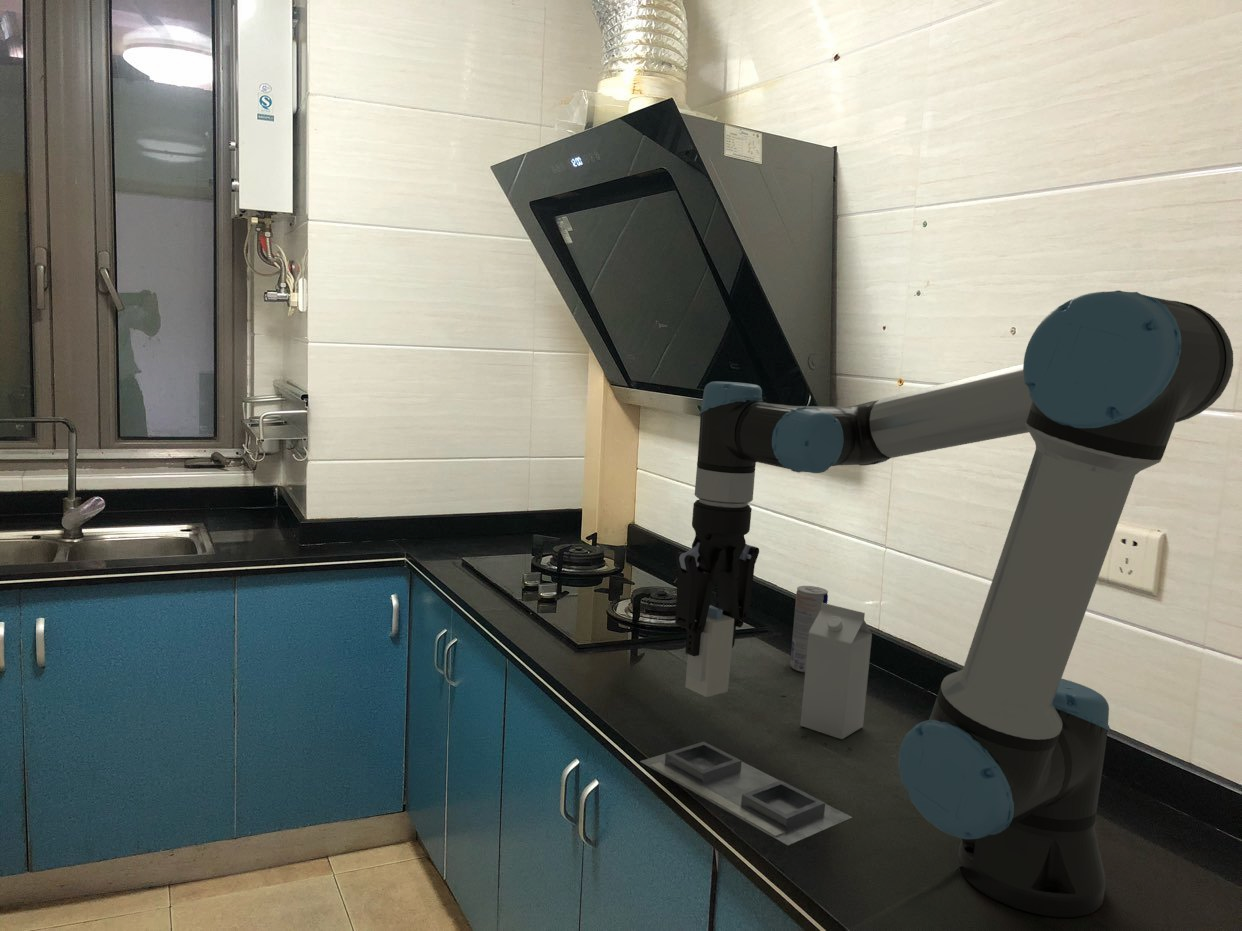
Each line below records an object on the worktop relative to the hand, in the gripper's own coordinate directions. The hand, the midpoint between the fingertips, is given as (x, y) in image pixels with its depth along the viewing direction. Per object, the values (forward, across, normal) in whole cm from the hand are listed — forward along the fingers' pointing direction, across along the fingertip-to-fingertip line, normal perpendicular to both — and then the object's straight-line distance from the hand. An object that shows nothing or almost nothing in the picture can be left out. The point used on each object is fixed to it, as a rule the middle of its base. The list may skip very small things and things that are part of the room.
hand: (708, 674), depth 128 cm
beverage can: (+14, -47, -20) cm, 53 cm away
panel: (+14, 0, +8) cm, 16 cm away
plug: (+2, 0, 0) cm, 2 cm away
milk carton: (+14, -29, 0) cm, 32 cm away
